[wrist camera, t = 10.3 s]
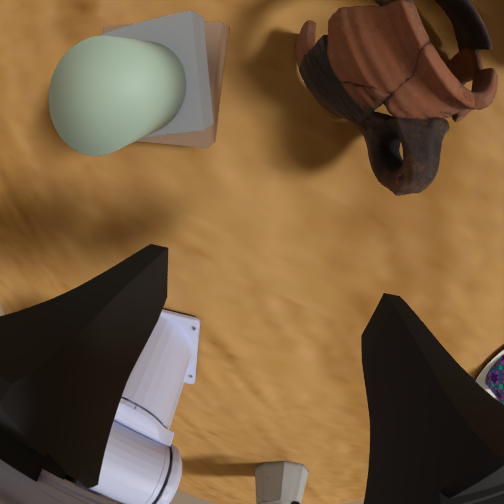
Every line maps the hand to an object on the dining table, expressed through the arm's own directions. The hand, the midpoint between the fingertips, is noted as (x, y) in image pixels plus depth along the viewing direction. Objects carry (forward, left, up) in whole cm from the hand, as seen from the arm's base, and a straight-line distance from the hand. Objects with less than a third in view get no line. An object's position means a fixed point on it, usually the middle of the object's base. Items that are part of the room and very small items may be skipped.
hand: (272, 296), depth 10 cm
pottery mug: (+8, -4, -11) cm, 14 cm away
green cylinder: (+5, +8, -6) cm, 11 cm away
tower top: (+6, +8, -8) cm, 13 cm away
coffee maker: (-43, -11, -11) cm, 46 cm away
